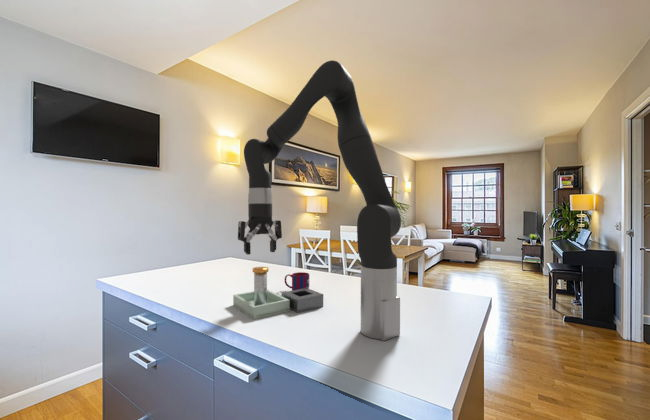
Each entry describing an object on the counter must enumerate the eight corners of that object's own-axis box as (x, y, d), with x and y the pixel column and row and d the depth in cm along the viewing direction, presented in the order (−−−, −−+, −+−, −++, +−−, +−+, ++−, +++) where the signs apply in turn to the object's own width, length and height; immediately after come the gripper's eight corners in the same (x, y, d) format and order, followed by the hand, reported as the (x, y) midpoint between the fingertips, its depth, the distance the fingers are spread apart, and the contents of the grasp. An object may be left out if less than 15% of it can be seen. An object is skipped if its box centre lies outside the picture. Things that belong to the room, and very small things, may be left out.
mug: (304, 294, 111) (304, 276, 111) (281, 291, 116) (281, 274, 116) (312, 290, 118) (312, 273, 118) (290, 287, 122) (290, 270, 122)
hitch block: (323, 306, 98) (323, 294, 98) (297, 312, 92) (297, 299, 92) (306, 299, 106) (306, 287, 106) (281, 304, 100) (281, 292, 100)
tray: (289, 310, 94) (289, 300, 94) (253, 319, 86) (253, 307, 86) (266, 298, 106) (266, 289, 106) (233, 305, 99) (233, 294, 99)
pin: (271, 305, 96) (271, 268, 96) (256, 309, 93) (256, 270, 93) (264, 302, 100) (264, 266, 100) (249, 304, 97) (250, 267, 97)
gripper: (243, 202, 89) (244, 256, 89) (285, 202, 98) (285, 252, 98) (234, 202, 95) (234, 253, 95) (274, 203, 104) (274, 250, 104)
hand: (260, 253), depth 96 cm, fingers open, 8 cm apart
